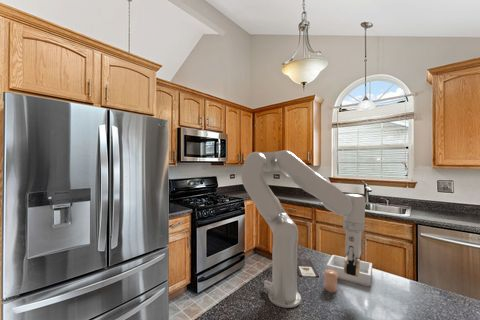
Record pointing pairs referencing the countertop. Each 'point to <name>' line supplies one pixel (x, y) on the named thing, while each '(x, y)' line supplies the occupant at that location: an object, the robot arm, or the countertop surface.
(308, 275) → the chocolate bar
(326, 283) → the terracotta cylinder
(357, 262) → the wood cube
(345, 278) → the tote
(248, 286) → the countertop surface
